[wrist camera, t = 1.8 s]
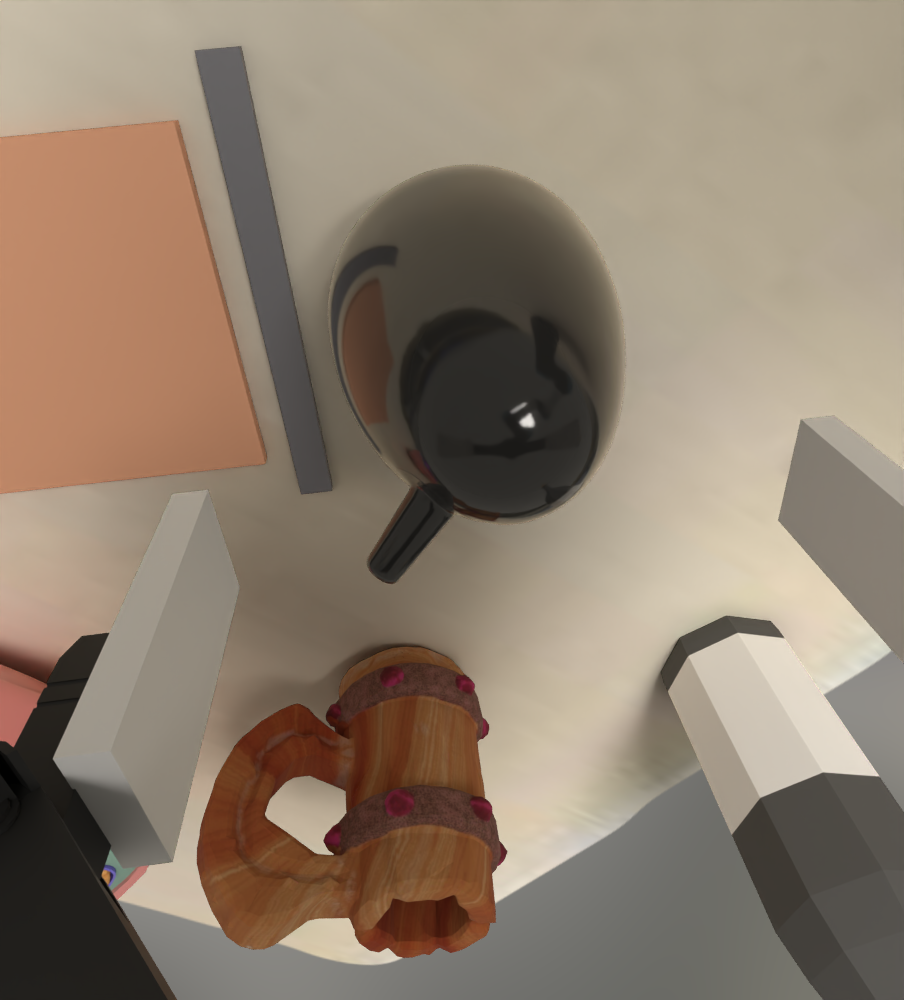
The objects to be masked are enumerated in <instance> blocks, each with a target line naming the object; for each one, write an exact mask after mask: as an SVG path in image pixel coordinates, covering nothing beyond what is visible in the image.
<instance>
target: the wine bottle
mask: <svg viewBox="0 0 904 1000" xmlns="http://www.w3.org/2000/svg"><path fill="white" fill-rule="evenodd" d="M661 674H662V678H663V681H664V684H665V686H666V689H667V691H668V693H669V696H670V698H671V700H672V702H673V704H674V707H675V709H676V711H677V713H678V716H679V718H680V720H681V722H682V725H683V727H684V729H685V731H686V734H687V736H688V738H689V740H690V742H691V745H692V747H693V749H694V751H695V754H696V756H697V758H698V760H699V763H700V765H701V767H702V769H703V771H704V774H705V776H706V778H707V780H708V783H709V785H710V787H711V789H712V791H713V794H714V796H715V798H716V800H717V803H718V805H719V807H720V809H721V812H722V814H723V816H724V818H725V821H726V823H727V825H728V827H729V829H730V832H731V834H732V836H733V838H734V841H735V843H736V845H737V847H738V850H739V852H740V854H741V856H742V858H743V861H744V863H745V865H746V867H747V869H748V872H749V874H750V876H751V879H752V881H753V883H754V885H755V887H756V890H757V892H758V894H759V897H760V899H761V901H762V903H763V905H764V908H765V910H766V912H767V914H768V917H769V919H770V921H771V923H772V926H773V928H774V930H775V932H776V934H777V935H778V937H779V938H780V939H781V941H782V942H783V944H784V945H785V947H786V949H787V950H788V951H789V953H790V954H791V956H792V957H793V959H794V960H795V962H796V963H797V965H798V966H799V968H800V969H801V971H802V972H803V974H804V975H805V976H806V978H807V979H808V981H809V983H810V984H811V985H812V986H813V987H814V989H815V990H816V991H817V992H818V994H819V995H820V996H821V997H822V999H823V1000H904V812H903V811H902V809H901V807H900V806H899V804H898V803H897V802H896V800H895V799H894V797H893V796H892V794H891V793H890V791H889V790H888V788H887V787H886V786H885V784H884V783H883V781H882V780H881V778H880V777H879V775H878V774H877V772H876V771H875V769H874V768H873V767H872V765H871V764H870V762H869V761H868V759H867V758H866V756H865V755H864V754H863V752H862V751H861V749H860V748H859V746H858V745H857V743H856V742H855V740H854V739H853V737H852V736H851V735H850V733H849V732H848V730H847V729H846V727H845V726H844V724H843V723H842V721H841V720H840V718H839V717H838V715H837V714H836V713H835V711H834V710H833V708H832V707H831V705H830V704H829V702H828V701H827V699H826V698H825V696H824V695H823V694H822V692H821V691H820V689H819V688H818V686H817V685H816V683H815V682H814V680H813V679H812V678H811V676H810V675H809V673H808V672H807V670H806V669H805V667H804V666H803V664H802V663H801V661H800V660H799V659H798V657H797V656H796V654H795V653H794V651H793V650H792V648H791V647H790V645H789V644H788V643H787V641H786V640H785V638H784V637H783V635H782V634H781V633H780V631H779V630H778V629H777V628H776V627H775V625H774V624H773V623H772V622H771V621H764V620H756V619H748V618H740V617H731V616H725V617H723V618H721V619H719V620H717V621H714V622H712V623H710V624H708V625H706V626H704V627H702V628H700V629H698V630H695V631H693V632H691V633H689V634H687V635H685V636H683V637H681V638H680V639H679V641H678V642H677V644H676V646H675V648H674V650H673V651H672V653H671V655H670V657H669V659H668V660H667V662H666V664H665V666H664V668H663V669H662V671H661Z"/></svg>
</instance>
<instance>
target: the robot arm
mask: <svg viewBox="0 0 904 1000" xmlns="http://www.w3.org/2000/svg"><path fill="white" fill-rule="evenodd" d="M778 521H779V522H780V523H781V524H782V525H783V526H784V528H785V529H786V530H787V531H788V532H789V533H790V534H791V536H792V537H793V538H794V539H795V540H796V541H797V542H798V544H799V545H800V546H801V547H802V548H803V549H804V550H805V552H806V553H807V554H808V555H809V556H810V557H811V558H812V560H813V561H814V562H815V563H816V564H817V565H818V566H819V568H820V569H821V570H822V571H823V572H824V573H825V574H826V576H827V577H828V578H829V579H830V580H831V581H832V582H833V584H834V585H835V586H836V587H837V588H838V589H839V590H840V592H841V593H842V594H843V595H844V596H845V597H846V598H847V600H848V601H849V602H850V603H851V604H852V605H853V606H854V608H855V609H856V610H857V611H858V612H859V613H860V614H861V616H862V617H863V618H864V619H865V620H866V621H867V622H868V624H869V625H870V626H871V627H872V628H873V629H874V630H875V632H876V633H877V634H878V635H879V636H880V637H881V638H882V640H883V641H884V642H885V643H886V644H887V645H888V646H889V648H890V649H891V650H892V651H893V652H894V653H895V654H896V655H897V657H898V658H899V659H900V660H901V661H902V662H903V664H904V469H902V468H901V467H900V466H898V465H897V464H896V463H895V462H893V461H892V460H891V459H889V458H888V457H887V456H886V455H884V454H883V453H882V452H880V451H879V450H878V449H877V448H875V447H874V446H873V445H871V444H870V443H869V442H868V441H866V440H865V439H864V438H862V437H861V436H860V435H859V434H857V433H856V432H855V431H853V430H852V429H851V428H850V427H848V426H847V425H846V424H844V423H843V422H842V421H841V420H839V419H838V418H837V417H835V416H826V417H817V418H809V419H801V421H800V425H799V430H798V434H797V439H796V443H795V448H794V452H793V457H792V461H791V465H790V470H789V474H788V479H787V483H786V488H785V492H784V497H783V501H782V506H781V510H780V514H779V519H778ZM239 589H240V586H239V583H238V580H237V576H236V573H235V570H234V567H233V564H232V561H231V558H230V555H229V552H228V549H227V546H226V543H225V540H224V537H223V534H222V530H221V527H220V524H219V521H218V518H217V515H216V512H215V509H214V506H213V503H212V500H211V497H210V494H209V491H208V490H200V491H192V492H183V493H175V494H172V496H171V498H170V500H169V502H168V504H167V507H166V509H165V511H164V513H163V516H162V518H161V520H160V522H159V524H158V527H157V529H156V531H155V533H154V535H153V538H152V540H151V542H150V544H149V547H148V549H147V551H146V553H145V555H144V558H143V560H142V562H141V564H140V566H139V569H138V571H137V573H136V575H135V578H134V580H133V582H132V584H131V586H130V589H129V591H128V593H127V595H126V597H125V600H124V602H123V604H122V606H121V609H120V611H119V613H118V615H117V617H116V620H115V622H114V624H113V626H112V628H111V631H110V633H103V634H95V635H87V636H81V637H80V638H79V639H78V640H77V641H76V642H75V643H74V644H73V645H72V646H71V647H70V648H69V649H68V650H67V651H66V652H65V653H64V654H63V655H62V656H61V657H60V658H59V660H58V662H57V664H56V666H55V668H54V670H53V672H52V674H51V676H50V678H49V680H48V681H47V688H44V689H43V691H42V693H41V695H40V697H39V699H38V701H37V707H36V708H34V709H33V711H32V713H31V714H30V716H29V718H28V720H27V722H26V724H25V726H24V728H23V730H22V732H21V734H20V736H19V738H18V740H17V742H16V744H15V745H14V747H12V746H11V745H10V744H9V743H7V742H6V741H0V1000H177V999H176V997H175V995H174V994H173V992H172V991H171V989H170V987H169V986H168V984H167V982H166V981H165V979H164V977H163V976H162V974H161V972H160V971H159V969H158V967H157V966H156V964H155V962H154V961H153V959H152V957H151V956H150V954H149V952H148V951H147V949H146V947H145V946H144V944H143V942H142V941H141V939H140V937H139V936H138V934H137V932H136V931H135V929H134V927H133V926H132V924H131V923H130V921H129V919H128V918H127V916H126V914H125V913H124V911H123V909H122V908H121V906H120V904H119V903H118V901H117V899H116V898H115V896H114V894H113V893H112V891H111V889H110V888H109V886H108V884H107V883H106V881H105V880H104V878H103V877H102V873H103V870H104V867H105V864H106V861H107V858H108V855H109V852H110V849H111V851H112V852H113V854H114V856H115V857H116V859H117V860H118V862H119V863H120V865H121V866H122V868H123V869H126V868H133V867H141V866H148V865H155V864H162V863H169V862H173V858H174V854H175V850H176V846H177V842H178V838H179V834H180V830H181V825H182V821H183V817H184V813H185V809H186V805H187V801H188V797H189V793H190V789H191V785H192V781H193V777H194V773H195V768H196V764H197V760H198V756H199V752H200V748H201V744H202V740H203V736H204V732H205V728H206V724H207V720H208V715H209V711H210V707H211V703H212V699H213V695H214V691H215V687H216V683H217V679H218V675H219V671H220V667H221V662H222V658H223V654H224V650H225V646H226V642H227V638H228V634H229V630H230V626H231V622H232V618H233V614H234V610H235V605H236V601H237V597H238V593H239Z"/></svg>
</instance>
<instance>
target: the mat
mask: <svg viewBox="0 0 904 1000" xmlns="http://www.w3.org/2000/svg"><path fill="white" fill-rule="evenodd" d="M266 459H267V455H266V452H265V448H264V444H263V440H262V437H261V433H260V429H259V425H258V421H257V418H256V414H255V410H254V406H253V402H252V399H251V395H250V391H249V387H248V383H247V380H246V376H245V372H244V368H243V364H242V361H241V357H240V353H239V349H238V346H237V342H236V338H235V334H234V330H233V327H232V323H231V319H230V315H229V311H228V308H227V304H226V300H225V296H224V292H223V289H222V285H221V281H220V277H219V274H218V270H217V266H216V262H215V258H214V255H213V251H212V247H211V243H210V239H209V236H208V232H207V228H206V224H205V220H204V217H203V213H202V209H201V205H200V202H199V198H198V194H197V190H196V186H195V183H194V179H193V175H192V171H191V167H190V164H189V160H188V156H187V152H186V148H185V145H184V141H183V137H182V133H181V130H180V126H179V122H178V120H177V121H166V122H156V123H145V124H135V125H125V126H114V127H104V128H93V129H83V130H73V131H62V132H52V133H41V134H31V135H21V136H10V137H0V494H1V493H10V492H19V491H28V490H37V489H46V488H55V487H63V486H72V485H81V484H90V483H99V482H108V481H117V480H126V479H135V478H144V477H153V476H162V475H171V474H180V473H189V472H198V471H207V470H216V469H224V468H233V467H242V466H251V465H260V464H265V463H266Z"/></svg>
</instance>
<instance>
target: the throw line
mask: <svg viewBox="0 0 904 1000" xmlns="http://www.w3.org/2000/svg"><path fill="white" fill-rule="evenodd" d="M195 54H196V58H197V62H198V67H199V71H200V75H201V79H202V83H203V87H204V92H205V96H206V100H207V104H208V108H209V112H210V117H211V121H212V125H213V129H214V133H215V137H216V142H217V146H218V150H219V154H220V158H221V162H222V166H223V171H224V175H225V179H226V183H227V187H228V191H229V196H230V200H231V204H232V208H233V212H234V216H235V221H236V225H237V229H238V233H239V237H240V241H241V246H242V250H243V254H244V258H245V262H246V266H247V271H248V275H249V279H250V283H251V287H252V291H253V296H254V300H255V304H256V308H257V312H258V316H259V321H260V325H261V329H262V333H263V337H264V341H265V346H266V350H267V354H268V358H269V362H270V366H271V371H272V375H273V379H274V383H275V387H276V391H277V396H278V400H279V404H280V408H281V412H282V416H283V421H284V425H285V429H286V433H287V437H288V441H289V446H290V450H291V454H292V458H293V462H294V466H295V471H296V475H297V479H298V483H299V487H300V491H301V494H309V493H318V492H327V491H332V488H333V486H332V481H331V476H330V471H329V466H328V462H327V457H326V452H325V447H324V442H323V438H322V433H321V428H320V423H319V418H318V414H317V409H316V404H315V399H314V394H313V389H312V385H311V380H310V375H309V370H308V365H307V361H306V356H305V351H304V346H303V341H302V337H301V332H300V327H299V322H298V317H297V312H296V308H295V303H294V298H293V293H292V288H291V284H290V279H289V274H288V269H287V264H286V260H285V255H284V250H283V245H282V240H281V236H280V231H279V226H278V221H277V216H276V211H275V207H274V202H273V197H272V192H271V187H270V183H269V178H268V173H267V168H266V163H265V159H264V154H263V149H262V144H261V139H260V134H259V130H258V125H257V120H256V115H255V110H254V106H253V101H252V96H251V91H250V86H249V82H248V77H247V72H246V67H245V62H244V58H243V53H242V48H241V46H238V47H227V48H217V49H206V50H195Z"/></svg>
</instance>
